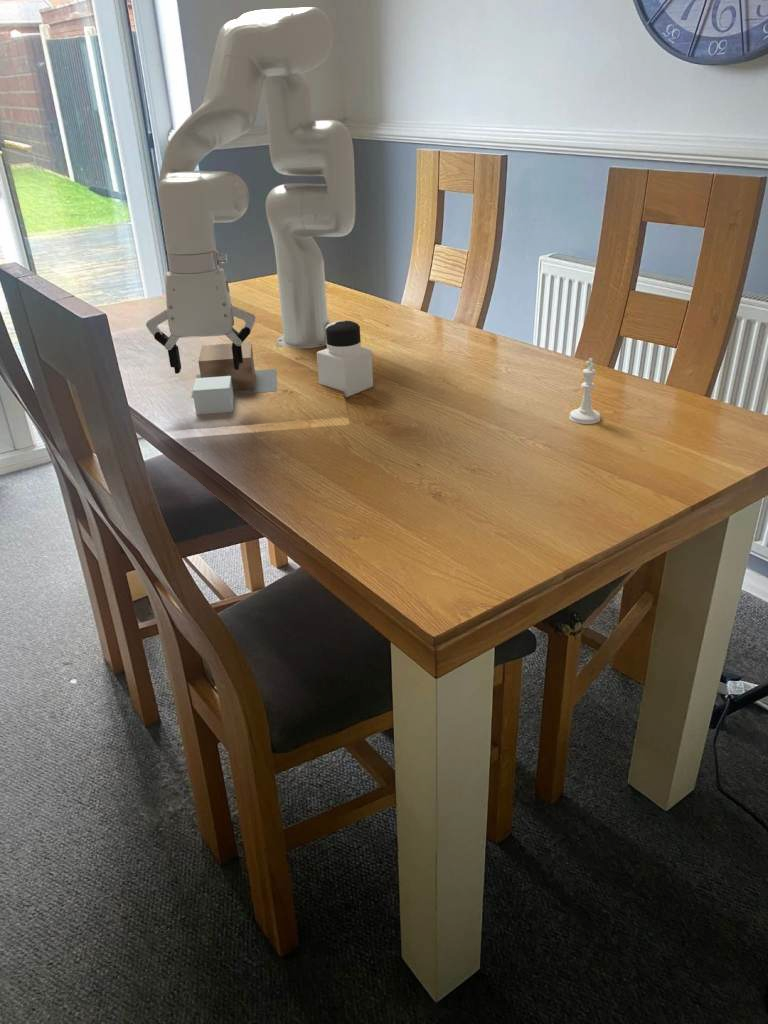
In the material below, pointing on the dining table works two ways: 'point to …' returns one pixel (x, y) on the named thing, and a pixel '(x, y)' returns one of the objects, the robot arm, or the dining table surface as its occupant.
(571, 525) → the dining table surface
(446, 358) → the dining table surface
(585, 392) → the chess piece
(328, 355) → the medicine bottle
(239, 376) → the walnut block
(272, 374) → the slate board
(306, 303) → the robot arm
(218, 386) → the blue-grey block
